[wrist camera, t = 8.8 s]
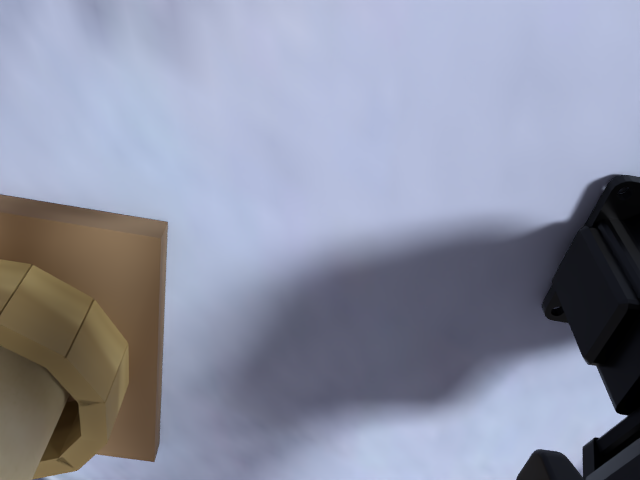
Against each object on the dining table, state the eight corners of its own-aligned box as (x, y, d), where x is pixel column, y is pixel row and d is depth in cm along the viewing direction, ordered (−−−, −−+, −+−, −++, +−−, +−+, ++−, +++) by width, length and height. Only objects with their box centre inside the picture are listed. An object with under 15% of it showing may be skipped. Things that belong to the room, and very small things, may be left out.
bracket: (167, 222, 23) (138, 295, 19) (159, 444, 31) (137, 520, 28) (-174, 165, 22) (-265, 233, 18) (-88, 411, 30) (-140, 486, 27)
